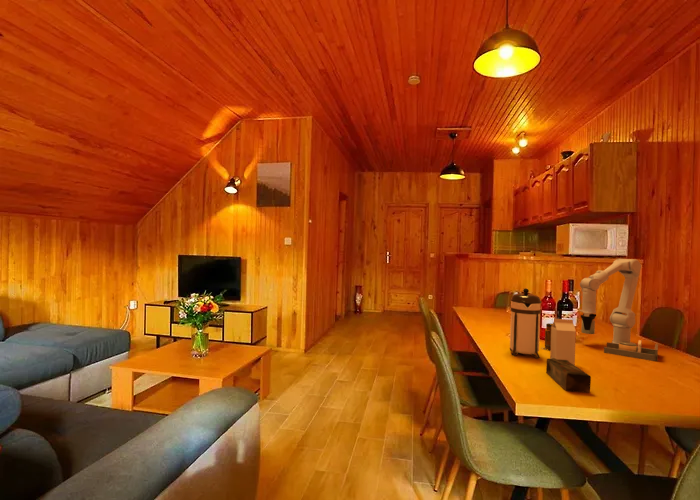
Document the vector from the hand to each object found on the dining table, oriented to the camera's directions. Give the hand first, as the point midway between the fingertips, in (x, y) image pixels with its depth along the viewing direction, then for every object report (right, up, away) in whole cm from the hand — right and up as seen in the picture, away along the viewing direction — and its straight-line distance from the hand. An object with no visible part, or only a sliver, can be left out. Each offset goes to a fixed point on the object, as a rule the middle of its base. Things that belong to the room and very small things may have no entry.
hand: (588, 329), depth 189 cm
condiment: (-22, -8, -9) cm, 25 cm away
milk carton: (-31, -8, -32) cm, 46 cm away
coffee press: (-41, -8, -17) cm, 45 cm away
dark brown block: (-42, -9, -53) cm, 68 cm away
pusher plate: (+14, -9, -15) cm, 22 cm away
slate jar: (0, -2, 0) cm, 2 cm away
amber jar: (+10, -9, -13) cm, 19 cm away
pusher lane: (+11, -9, -13) cm, 20 cm away
